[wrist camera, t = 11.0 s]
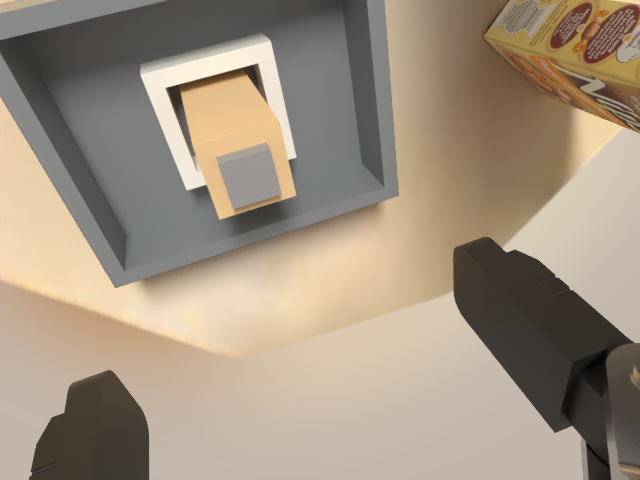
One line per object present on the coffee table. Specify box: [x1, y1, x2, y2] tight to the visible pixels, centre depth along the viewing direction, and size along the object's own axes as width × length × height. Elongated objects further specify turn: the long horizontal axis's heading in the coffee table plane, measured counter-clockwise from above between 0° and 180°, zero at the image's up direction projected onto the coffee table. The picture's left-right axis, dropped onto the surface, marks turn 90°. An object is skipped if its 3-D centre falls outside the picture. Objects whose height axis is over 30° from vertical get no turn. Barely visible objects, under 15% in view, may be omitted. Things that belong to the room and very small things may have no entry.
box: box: [0, 0, 399, 288], centre depth 28 cm, size 20×16×5 cm
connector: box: [179, 68, 296, 220], centre depth 25 cm, size 4×4×11 cm
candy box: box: [484, 0, 640, 133], centre depth 29 cm, size 9×4×15 cm, turn 56°
